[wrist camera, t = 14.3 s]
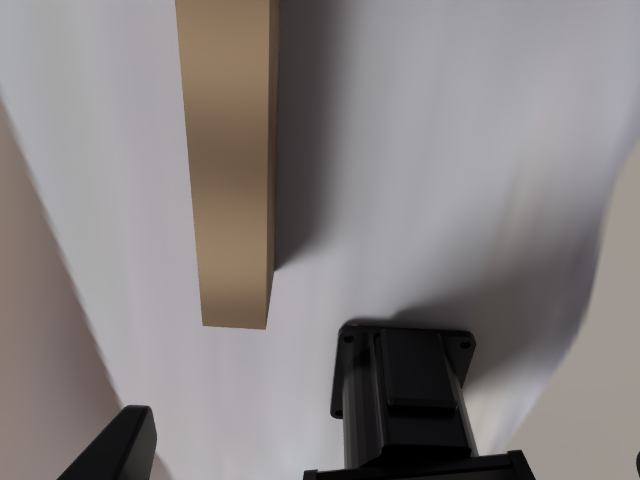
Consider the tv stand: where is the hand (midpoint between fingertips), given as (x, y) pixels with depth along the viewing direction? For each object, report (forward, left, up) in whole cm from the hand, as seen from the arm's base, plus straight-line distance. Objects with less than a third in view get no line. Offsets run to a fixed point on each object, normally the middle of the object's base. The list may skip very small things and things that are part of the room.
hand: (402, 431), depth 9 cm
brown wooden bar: (+3, +4, -12) cm, 13 cm away
